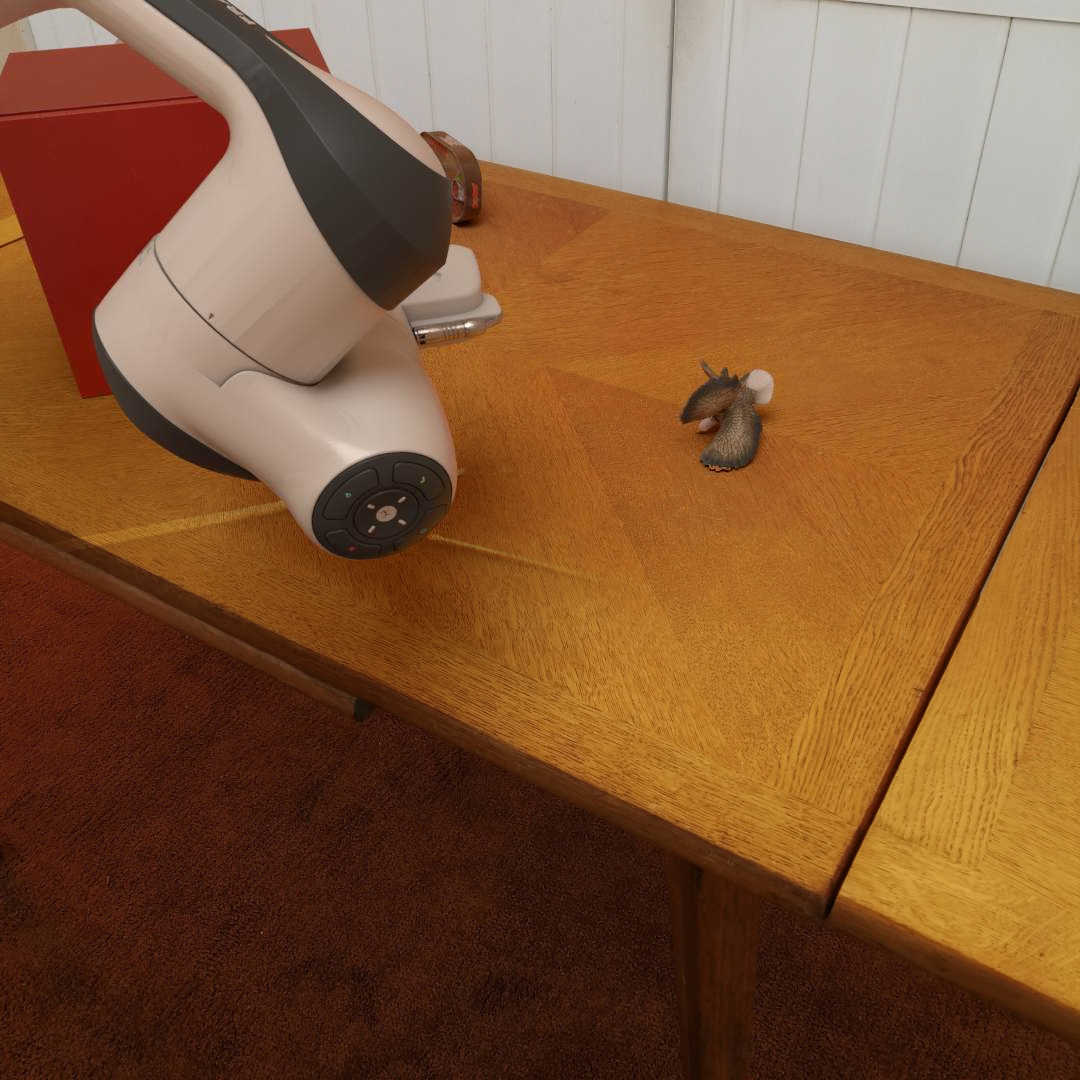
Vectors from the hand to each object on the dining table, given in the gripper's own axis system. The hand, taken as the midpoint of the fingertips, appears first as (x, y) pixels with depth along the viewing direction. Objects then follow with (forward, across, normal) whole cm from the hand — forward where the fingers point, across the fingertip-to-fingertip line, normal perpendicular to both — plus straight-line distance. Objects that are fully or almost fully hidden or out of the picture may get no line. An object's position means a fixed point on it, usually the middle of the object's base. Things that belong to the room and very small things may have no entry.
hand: (313, 256), depth 69 cm
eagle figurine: (-4, -31, +19) cm, 36 cm away
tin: (+51, -20, +19) cm, 58 cm away
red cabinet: (+29, +8, +19) cm, 35 cm away
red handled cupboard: (+16, +8, +18) cm, 26 cm away
